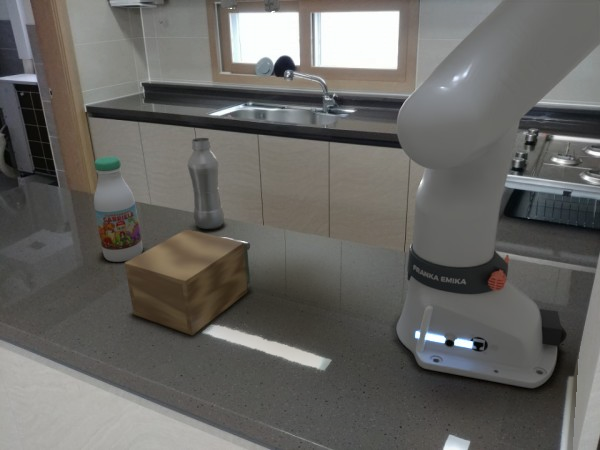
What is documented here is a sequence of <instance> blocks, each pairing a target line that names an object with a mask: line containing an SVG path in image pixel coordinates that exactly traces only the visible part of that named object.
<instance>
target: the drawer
mask: <svg viewBox="0 0 600 450" xmlns="http://www.w3.org/2000/svg"><path fill="white" fill-rule="evenodd" d="M195 231H196V232H200V233H204V234H207V232H202V231H197V230H195ZM208 234H209V235H213V236H217V237H221V238H225V239H230V240H234V241H238V242H242V243H244V255H245V268H246V280H247V285H249V284H250V282H251V278H250V268H249V267H250V266H249V255H248V254H249V253H248V251H249V250H250V249H251V243H250V242H247V241H242V240H238V239H234V238H230V237H225V236H218V235H214V234H211V233H208Z"/></svg>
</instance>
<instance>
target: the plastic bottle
mask: <svg viewBox="0 0 600 450" xmlns="http://www.w3.org/2000/svg"><path fill="white" fill-rule="evenodd" d="M211 148H212V146H211V141H210V138H209V137H197V138H196V137H195V138H193V139H191V149H192V151H193V152H192V153H191V154H190V156H189V159H188V160H187V170H188V174H189V177H190V180H191V185H192V186H191V187H192V189H193V190H192V191H193V202H194V203H193V204H194V208H193V220H194V222H195V223H194V224H195V225H196V226H197V227H198V228H200V229H203V230H215V229H217V228H220V227H221V226H222V225H223V224H224V221H225V213H224V209H223V206H222V202H221V196H220V193H219V161H218V158H217V157H216V155H215V154H214V153H213V152H212V151H211Z"/></svg>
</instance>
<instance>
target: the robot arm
mask: <svg viewBox="0 0 600 450" xmlns="http://www.w3.org/2000/svg"><path fill="white" fill-rule="evenodd" d="M263 5H264V10H265V12H268V13H274V12H279V11H280V0H263ZM220 6H221V8H222V9H226V10H227V9H228V10H229V9H230V10H232V9H235V8H237V7H238V1H237V0H220ZM599 46H600V0H501V2H500V3H498V5H497V6H496V7H495V8H494V9H493V10H492V11H491V12H490V13H489V14H488V15H487V16H486V17H484V19H483V20H482V21H481V22H480V23H479V24H478V25H476V27H475V28H473V30H471V32H470V33H469V34H467V35H466V37H464V38H463V40H462V41H461V42H459V43H458V45H457V46H456V47H455V48H454V49H453V50H452V51H451V52H449V53H448V55H447V56H446V57H445V58H444V59H443V60H442V61H441V62H440V63H439V64H438V65H437V66H436V67H435V68H434V69H433V70H432V71H431V72H430V74H429V75H428V76H427V77H426V78H425V79H424V80H423V81H422V82H421V83H420V84H419V85H418V86H417V87H416V88H415V90H414V91H412V93H411V94H410V95H409V96H407V99H406V100H405V101H404V102H403V104H402V106H401V107H400V109H399V111H398V115H397V117H396V118H397V119H396V135H397V139H398V142H399V145H400V147H401V149H402V150H403V152H404V153H405V155H406V156H407V157H408V158H409V159H410V160H411V161H412V162H414V163H415V164H416V165H418V166H420V167H423V168H424V172H423V175H422V178H421V181H420V183H419V185H418V187H417V190H416V193H415V200H414V216H413V232H412V233H413V234H412V243H411V244H410V245H409V249H408V254H407V263H406V272H407V280H408V286H407V291H406V296H405V299H404V300H405V301H404V305H403V308H402V311H401V314H400V317H399V319H398V321H397V323H396V326H395V327H396V334H397V337H398V340H399V341H400V342H401V343H402V345H403V346H405V347H406V349H408V350H409V351H410V352H411V353H412V354H413V356H414V359H415V361H416V363H417V365H418V366H419V367H421V368H422V369H425V370H429V371H435V372H441V373H445V374H446V373H447V374H450V375H456V376H461V377H467V378H472V379H478V380H482V381H488V382H493V383H499V384H504V385H510V386H515V387H522V388H527V389H535V388H538V387H540V386H542V385H543V384H545V383H546V382H547V381H548V380H549V379H550V378H551V376H552V375H553V373H554V371H555V369H556V368H555V367H556V364H557V358H558V347H560V344H562V343H563V342H564V341H565V340H566V339H567V332H566V330H565V329H564V327H563V326H562V323H561V320H560V316H559V312H558V310H551V309H542V308H539V306H538V305H537V303H536V302H535V301H534V300H533V299H532V298H531V297H529V296H528V295H527V294H525V293H524V292H523V291H522V290H520V289H519V288H518V287H517V286H516V285H515V284H513V282H511V281H510V280H509V278H508V273H509V261H510V257H509V254H506V255H505V257H504V258H503V257H502V256H501V255H499V253H498V252H497V251H496V250H495V248H496V242H497V235H498V234H497V233H498V225H499V219H500V210H501V205H502V199H503V194H504V190H505V186H506V182H507V179H508V175H509V171H510V167H511V163H512V158H513V154H514V151H515V145H516V141H517V137H518V131H519V127H520V122H521V119H522V118H523V117H524V116H525V115H526V114H528V113H529V112H530V111H531V110H532V109H533V108H534V107H535V106H536V105H537V104H538V103H539V102H540V101H541V100H542V99H543V98H544V97H546V96H547V95H548V94H549V93H550V92H551V91H552V90H553V89H554V88H556V86H557V85H559V83H560V82H562V81H563V80H565V78H566V77H567V76H569V74H571V72H573V70H575V69H576V67H579V65H580V64H581V63H582V62H583V61H584V60H585V59H586V58H587V57H589V55H590V54H592V52H593V51H595V49H597V48H598V47H599Z"/></svg>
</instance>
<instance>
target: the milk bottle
mask: <svg viewBox="0 0 600 450" xmlns="http://www.w3.org/2000/svg"><path fill="white" fill-rule="evenodd" d="M121 165H122V164H121V159H120V158H119V157H117V156H104V157H99V158H97V159H96V160H94V168H95V172H96V173H97V183H96V188H95V191H94V197H93V207H94V212H95V218H96V224H97V229H98V234H99V235H98V236H99V241H100V245H101V249H102V254H103V257H104V258H105V259H106V260H107V261H109V262H113V263H115V262H117V263H120V262H121V263H122V262H127V261H129V260H131V259H133V258H134V257H136V256H138V255H140V254H142V253H143V250H144V248H143V247H144V246H143V241H142V233H141V228H140V222H139V216H138V210H137V206H136V201H135V197H134V194H133V191H132V190H131V188H130V186H129V185H128V183H127V182H126V180H125V179H124V177H123V175H122V167H121Z"/></svg>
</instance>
